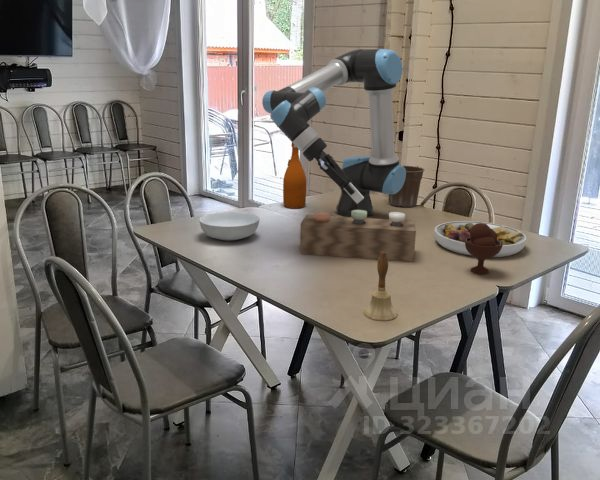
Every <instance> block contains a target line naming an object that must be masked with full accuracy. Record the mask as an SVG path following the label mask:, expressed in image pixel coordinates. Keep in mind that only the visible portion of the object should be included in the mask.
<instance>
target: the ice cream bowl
mask: <svg viewBox="0 0 600 480" xmlns="http://www.w3.org/2000/svg"><path fill="white" fill-rule="evenodd" d="M469 233H470V237H467V238H465V247H466V249H467V251H468V252H469V253H470V254H471V255H472V256H471V257H473V258H476V259H477V265H475V266H472V267H471V268H470V272H471V273H473V274H476V275H479V276H480V275H481V276H483V275H484V276H486V275H488V274H490V271H489V269H488V268H487V267H486V266H485V265H484V264H485V263H484V262H485V260H489V259H491V258H495V257H494V256H495V255H497V254H498V253H499V252H500V250H501V248H502V246H503V244H502V241H500V240H497V233H496V232H495V231H494V230H493V229H491V228H490V227H489V226H488V225H487V224H483V223H478V224H475V225H474V226H472V227H471V229H470V231H469Z"/></svg>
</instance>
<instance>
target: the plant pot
mask: <svg viewBox="0 0 600 480" xmlns="http://www.w3.org/2000/svg"><path fill="white" fill-rule="evenodd" d="M402 166H403V167H404V168H405V170H406V178H405V182H404V184H403V186H402V188H401V189H400V191H399V192H397V193H396V194H388V204H389V205H390V206H393V207H398V208H399V207H402V208H413V207H416V206H417V204H418V198H419V192H420V188H421V182H422V179H423V175H424V172H425V168H423V167H419V166H415V165H414V166H413V165H402Z"/></svg>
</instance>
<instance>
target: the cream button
mask: <svg viewBox="0 0 600 480" xmlns="http://www.w3.org/2000/svg"><path fill="white" fill-rule="evenodd" d="M388 219H389V220H390V221H392V226H400V227H401V222H403V221H405V220H406V213H404V212H401V211H391V212H389V213H388Z"/></svg>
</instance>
